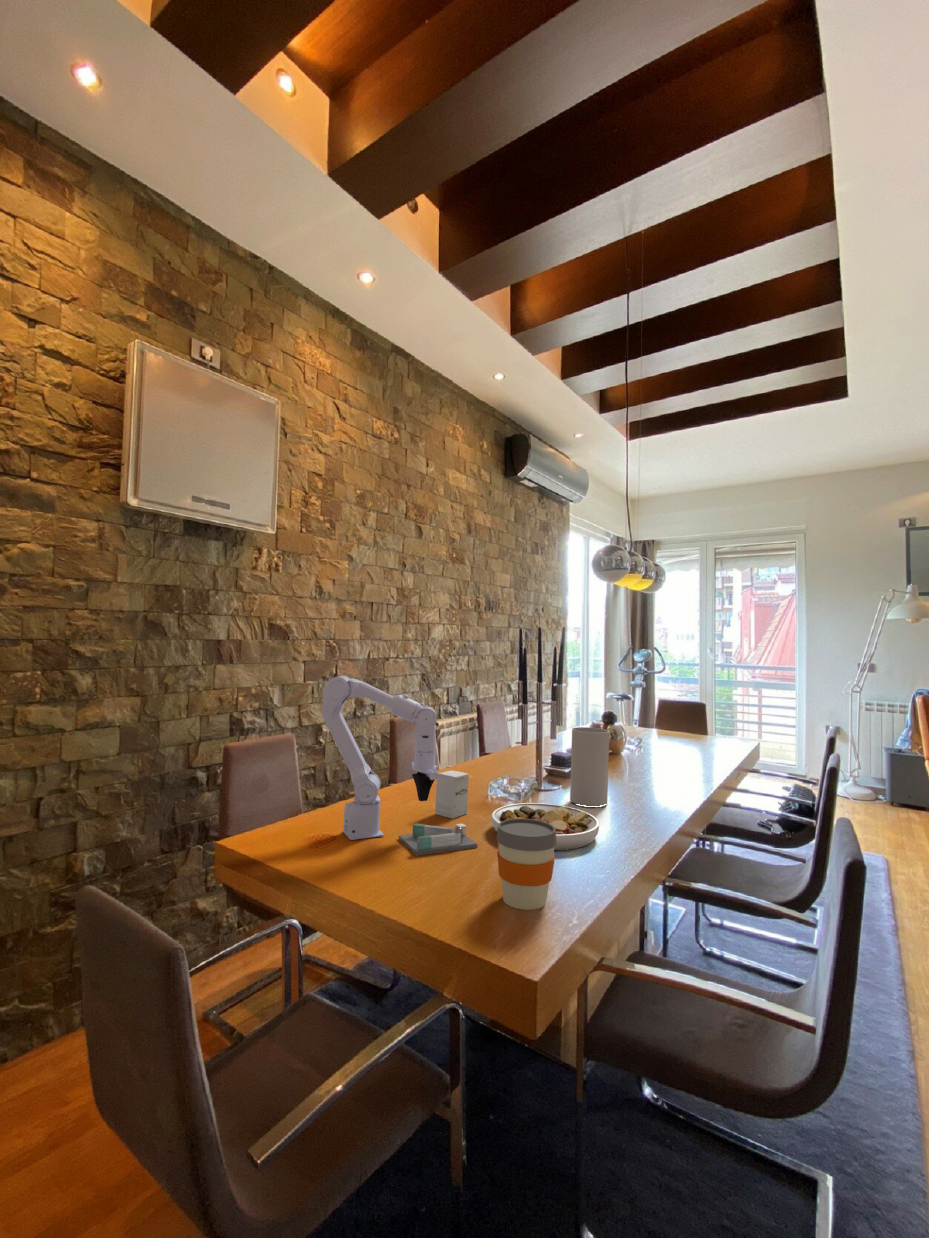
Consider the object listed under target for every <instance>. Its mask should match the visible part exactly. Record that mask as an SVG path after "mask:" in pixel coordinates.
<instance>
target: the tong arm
mask: <svg viewBox="0 0 929 1238" xmlns="http://www.w3.org/2000/svg"><path fill="white" fill-rule="evenodd" d="M452 829H453V827H449V826H438V825H429V824H424V823H422V824H421V823H413V824H412V834H413V835H412V836H416V837H419V836H428V835H430V836H432V835H440V834H448V833H452Z"/></svg>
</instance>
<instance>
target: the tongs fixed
mask: <svg viewBox="0 0 929 1238" xmlns="http://www.w3.org/2000/svg"><path fill="white" fill-rule="evenodd" d="M454 829H455V833H448V834H440V835H432V836H430V835H428V836H419V837H418V840H417V849H418V850H426V849H433V848H441V847H448V846H456V845H461V843H462V839H463V827H456V826H455V827H454Z"/></svg>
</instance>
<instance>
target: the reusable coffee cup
mask: <svg viewBox="0 0 929 1238" xmlns="http://www.w3.org/2000/svg"><path fill="white" fill-rule="evenodd" d="M496 841H497V843H498V845H497V846H498V850H497V853H496V855H497V866H498V867H497V868H498V875H499V878H500V879H501V890H502V900H503V902H504V903H505V904H506V905H507V906H509V907H511V908H514V909H517V910H518V909H519V910H524V911H530V910H531V911H533V910H538V909H541V908H543V907H544V906H545V905H546V903H547V898H548V893H549V885H550V882H551V881H552V879H553V874H554V866H555V860H556V856H555V850H554V847H555V846H556V844H557V841H556V829H555V827H554V826H553V825H551V824H549V823H546V822H543V821H539V820H534V819H508V820H504V821H502V822H500V823H499V825H498V831H497V832H496Z"/></svg>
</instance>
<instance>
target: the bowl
mask: <svg viewBox="0 0 929 1238" xmlns="http://www.w3.org/2000/svg"><path fill="white" fill-rule="evenodd" d="M491 813H492V814H491V824H492V826H493V829H494V831H495V832H496V833H497V831H498V825H499V823H500V822H502V821H504V820H508V819H534V820H539V821H543V822H546V823H549V824H551V825H553V826H554V827H555V829H556V841H557V844H556V846H555V847H554V851H566V850H567V849H568V850H574V849H579V848H581V847H584V846H587V845H588V844H590V843H592V842H593V841H594V840H595V838H597V836H598V833H599V830H600V822H599V819H598V818H596V817H595V816H594V815H592V814H590V813H589V812H586V811H584V810H581V809H577V808H575V807H574V808H573V807H570V806H566V805H560V804H552V803H543V802H542V803H541V802H539V803H538V802H527V803H526V802H525V803H513V804H507V805H503V806H501V807H499V808H496V809H495V810H493V812H491Z"/></svg>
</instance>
